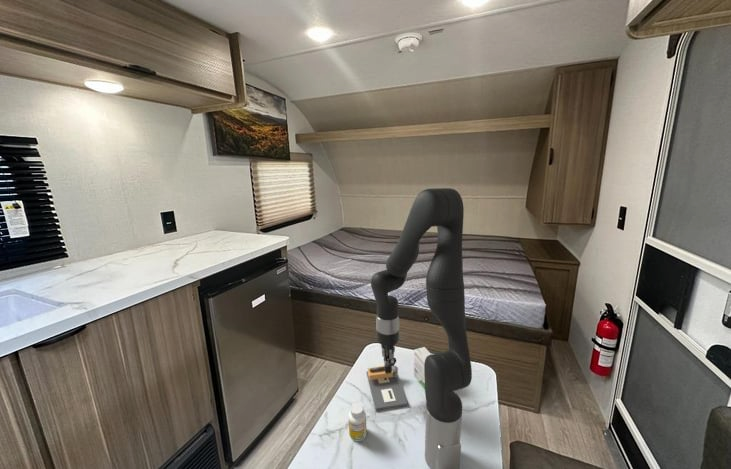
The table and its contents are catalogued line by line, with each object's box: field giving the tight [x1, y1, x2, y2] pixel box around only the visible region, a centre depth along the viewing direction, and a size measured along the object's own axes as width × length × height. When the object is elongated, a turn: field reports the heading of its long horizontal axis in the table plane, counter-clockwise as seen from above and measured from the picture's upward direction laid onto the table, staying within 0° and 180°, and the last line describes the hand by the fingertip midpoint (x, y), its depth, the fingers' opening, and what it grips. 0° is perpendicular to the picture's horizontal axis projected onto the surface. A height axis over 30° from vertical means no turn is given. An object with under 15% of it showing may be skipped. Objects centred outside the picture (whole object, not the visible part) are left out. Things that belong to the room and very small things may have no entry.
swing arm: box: [367, 365, 399, 380], centre depth 109 cm, size 4×11×3 cm, turn 99°
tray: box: [366, 370, 408, 412], centre depth 106 cm, size 18×11×3 cm, turn 10°
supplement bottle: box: [347, 402, 368, 442], centre depth 87 cm, size 5×5×10 cm
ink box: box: [413, 346, 432, 390], centre depth 108 cm, size 8×5×12 cm, turn 21°
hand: (388, 371), depth 99 cm, fingers closed
